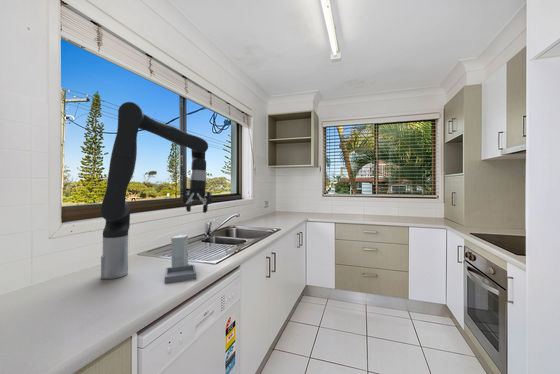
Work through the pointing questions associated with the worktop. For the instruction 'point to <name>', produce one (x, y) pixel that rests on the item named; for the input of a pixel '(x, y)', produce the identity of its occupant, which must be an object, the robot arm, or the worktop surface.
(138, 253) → the worktop surface
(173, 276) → the tray
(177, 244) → the skincare box
